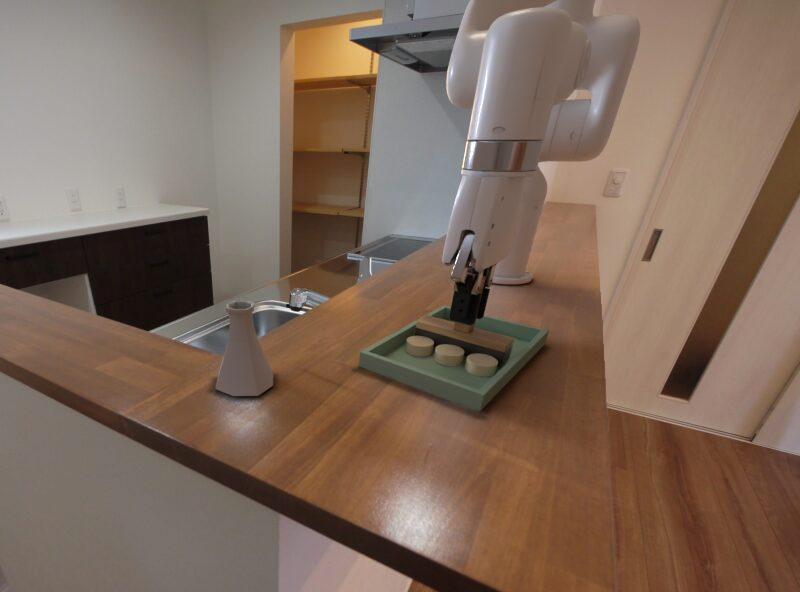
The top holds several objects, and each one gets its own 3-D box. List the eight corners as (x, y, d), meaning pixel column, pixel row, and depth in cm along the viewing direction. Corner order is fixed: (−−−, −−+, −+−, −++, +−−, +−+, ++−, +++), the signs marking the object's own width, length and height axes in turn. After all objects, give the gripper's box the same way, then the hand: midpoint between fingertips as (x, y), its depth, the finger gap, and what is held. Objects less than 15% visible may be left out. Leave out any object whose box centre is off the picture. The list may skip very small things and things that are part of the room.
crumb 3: (470, 361, 56) (472, 350, 55) (499, 369, 54) (502, 358, 53) (460, 371, 53) (462, 360, 53) (489, 380, 51) (492, 369, 50)
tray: (440, 320, 70) (443, 304, 69) (544, 347, 61) (549, 330, 59) (358, 369, 55) (359, 351, 54) (478, 415, 46) (484, 395, 44)
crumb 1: (414, 343, 61) (415, 333, 60) (437, 351, 58) (439, 341, 58) (399, 350, 58) (401, 340, 58) (423, 359, 56) (425, 348, 55)
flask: (229, 366, 56) (223, 292, 51) (282, 373, 54) (281, 297, 49) (204, 393, 50) (195, 312, 45) (263, 402, 48) (259, 319, 43)
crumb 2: (440, 351, 58) (442, 341, 57) (466, 359, 56) (469, 349, 55) (428, 360, 56) (430, 350, 55) (455, 369, 54) (457, 358, 53)
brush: (423, 334, 62) (435, 265, 57) (509, 359, 55) (530, 283, 50) (413, 340, 60) (424, 270, 55) (500, 367, 53) (522, 289, 48)
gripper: (492, 156, 54) (463, 298, 63) (434, 162, 44) (409, 329, 53) (558, 158, 49) (516, 309, 58) (510, 164, 39) (469, 346, 48)
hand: (466, 318), depth 56 cm, fingers closed on brush, 2 cm apart
